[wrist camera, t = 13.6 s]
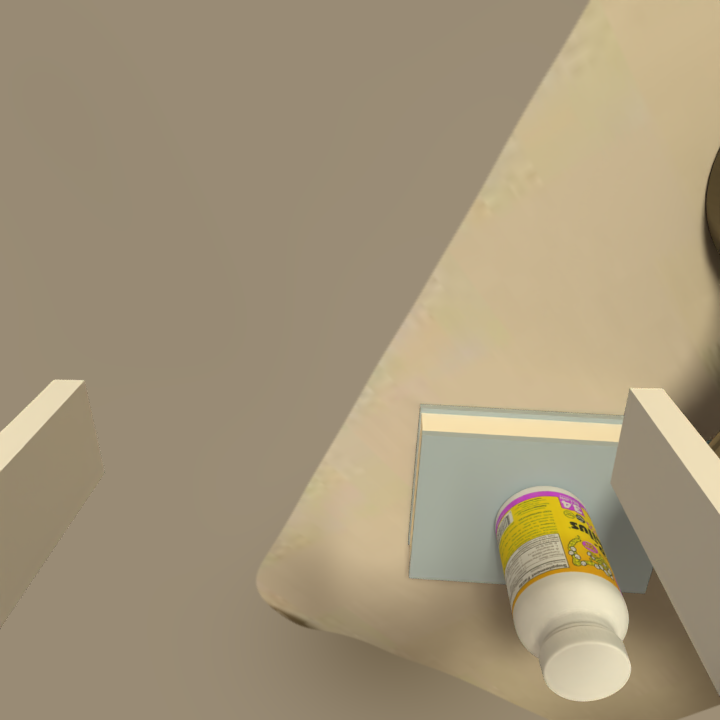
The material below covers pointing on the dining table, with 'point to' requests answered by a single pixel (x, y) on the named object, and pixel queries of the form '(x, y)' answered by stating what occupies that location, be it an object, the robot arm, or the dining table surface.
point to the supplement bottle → (563, 593)
